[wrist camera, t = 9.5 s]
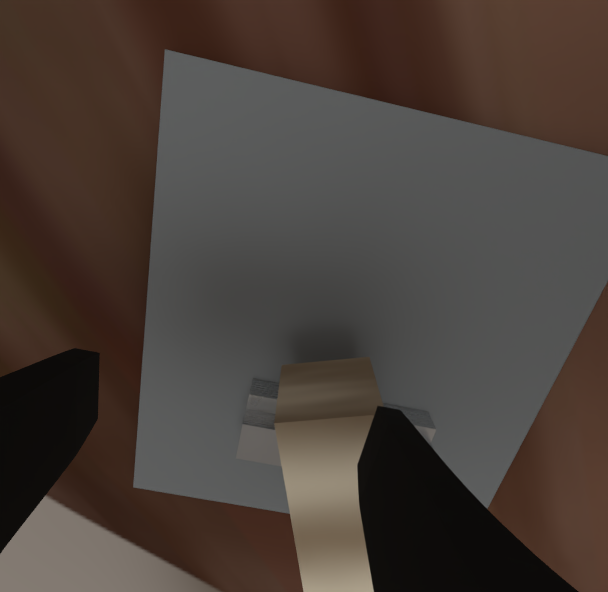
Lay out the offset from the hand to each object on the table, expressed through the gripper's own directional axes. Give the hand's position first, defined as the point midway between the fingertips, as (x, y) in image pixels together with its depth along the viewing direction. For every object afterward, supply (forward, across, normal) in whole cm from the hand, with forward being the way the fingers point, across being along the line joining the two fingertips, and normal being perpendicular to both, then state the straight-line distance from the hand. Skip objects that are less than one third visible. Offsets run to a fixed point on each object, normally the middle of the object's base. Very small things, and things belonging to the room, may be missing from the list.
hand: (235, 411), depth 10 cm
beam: (+7, -5, +8) cm, 12 cm away
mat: (+10, -5, +3) cm, 12 cm away
